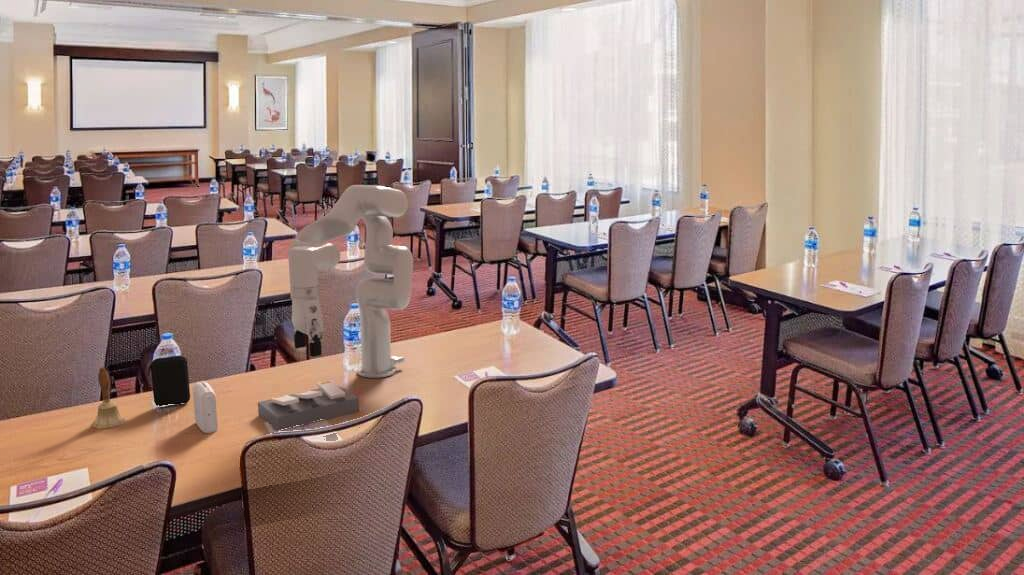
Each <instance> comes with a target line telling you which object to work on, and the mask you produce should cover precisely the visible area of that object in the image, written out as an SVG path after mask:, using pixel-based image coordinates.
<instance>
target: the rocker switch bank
mask: <svg viewBox="0 0 1024 575" xmlns="http://www.w3.org/2000/svg"><path fill="white" fill-rule="evenodd" d="M336 385H337V386H339V387H340V388H341V389H342V390H343V391H344V392H345V396H344V397H339V398H335V399H330V398H329V397H328V396H327V395H326V394H325V393H324V392H323V391H322V390H321V389H320V388H319V387H318V388H315V389H310V390H309V391H320V392H322V395H321V396H317V397H313V398H308V399H306V398H299V402H297V403H292V404H288V405H284V406H283V405H280V404H277V403H274V402H271V398H270V399H266V400H262V401H258V402H257V409H258V410H257V411H258V417H260V418H261V419H262V420H263V419H264V422H265V423H267V422H268V423H267V424H269V425H270V424H271V425H272V426H273V427H272V426H271V425H270V426H271V427H272V428H274V429H275V428H276V429H278V430H277V431H278V432H280V431H279V430H281V429H285V428H289V427H293V426H296V425H302V424H305V425H308V424H307V423H309V424H311V423H310V422H313V421H317V420H320V419H325V420H329V419H332V418H337V417H341V416H344V415H348V414H352V413H356V412H360V400H359V397H358V396H357V395H355V394H353V393H351V392H350V391H348V390H346V389H345V388H343V387H341V386H340V385H338V384H336ZM295 394H296V393H293V394H287V395H288V396H292V397H295ZM317 422H318V421H317ZM313 423H314V422H313ZM302 426H303V425H302ZM276 429H275V430H276Z"/></svg>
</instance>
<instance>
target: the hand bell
mask: <svg viewBox="0 0 1024 575" xmlns="http://www.w3.org/2000/svg"><path fill="white" fill-rule="evenodd" d="M97 380H98V385H99V387H100V389H101V393H102V395H101V396H102V402H101V403H100V404H98V407H97V415H96V417H95V419H94V420H93V421H92V422H91V426H93V427H92V428H94V427H95V428H94V429H97V428H98V430H108V429H113V428H116V427H119V426H122V425H123V424H125V423H126V421H127V419H126V418H125V416H123V415H122V414H121V413H120V411H119V409H118V404H117V403H116V402H114V401H111V397H110V392H109V386H110V376H109V374H108V371H107V370H106V367H104V366H103V367H99V370H98V375H97ZM105 428H107V429H105Z"/></svg>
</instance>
